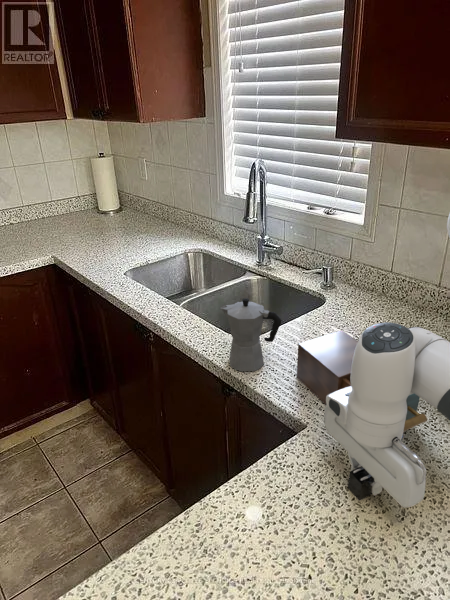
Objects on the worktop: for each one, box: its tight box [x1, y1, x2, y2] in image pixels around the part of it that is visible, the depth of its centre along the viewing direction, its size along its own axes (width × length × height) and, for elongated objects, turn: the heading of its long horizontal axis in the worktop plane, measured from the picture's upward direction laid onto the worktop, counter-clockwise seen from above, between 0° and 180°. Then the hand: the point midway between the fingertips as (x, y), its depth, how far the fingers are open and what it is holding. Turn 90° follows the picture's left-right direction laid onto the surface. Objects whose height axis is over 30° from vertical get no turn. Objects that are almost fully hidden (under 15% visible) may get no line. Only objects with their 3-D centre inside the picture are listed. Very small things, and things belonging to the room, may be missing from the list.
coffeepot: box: [219, 297, 282, 373], centre depth 109 cm, size 15×9×18 cm, turn 67°
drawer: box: [341, 377, 428, 433], centre depth 91 cm, size 18×11×8 cm, turn 26°
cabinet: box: [296, 330, 358, 406], centre depth 101 cm, size 15×13×10 cm
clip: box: [347, 466, 374, 501], centre depth 77 cm, size 5×3×4 cm, turn 116°
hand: (365, 481), depth 77 cm, fingers closed on clip, 3 cm apart
